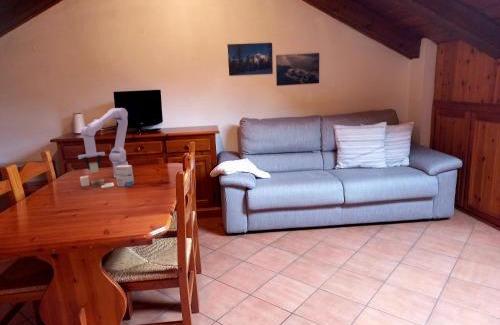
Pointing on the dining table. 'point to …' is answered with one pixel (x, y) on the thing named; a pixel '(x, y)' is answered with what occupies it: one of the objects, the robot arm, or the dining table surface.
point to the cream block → (84, 180)
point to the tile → (108, 185)
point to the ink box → (124, 175)
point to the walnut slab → (97, 183)
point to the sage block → (93, 167)
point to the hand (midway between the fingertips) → (93, 168)
